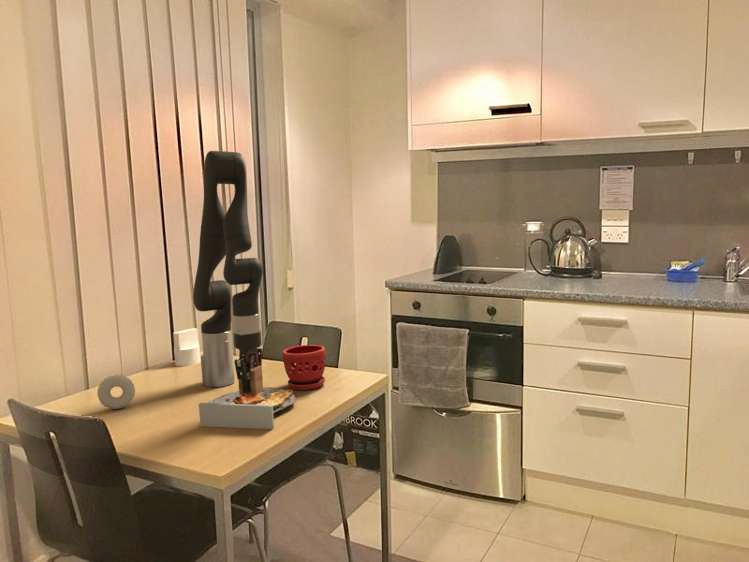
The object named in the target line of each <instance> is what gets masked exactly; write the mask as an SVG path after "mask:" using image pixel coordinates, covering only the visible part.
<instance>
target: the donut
mask: <svg viewBox="0 0 749 562" xmlns="http://www.w3.org/2000/svg"><path fill="white" fill-rule="evenodd" d="M116 387H117V388H120V389H121V390H122V393H121V395H119V396H113V395H112V394H111V390H112V389H113V388H116ZM135 395H136V388H135V384H134V383H133V381H132V380H131V379H130V378H128V377H127V376H125V375H122V374H113V375H110V376H108V377H106V378H105V379H103V380H102V381H101V382H100V384H99V386H98V387H97V397H98V400H99V402H100V403H101V405H102V406H104V407H105V408H108V409H110V410H119V409H122V408H123V409H124V408H125V407H126V406H128V405H130V403H132V401H133V399H134V397H135Z"/></svg>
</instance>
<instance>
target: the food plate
mask: <svg viewBox="0 0 749 562" xmlns="http://www.w3.org/2000/svg"><path fill="white" fill-rule="evenodd" d="M293 392H294V390H292V389H283V388H279V387H263V390H262V391H261V392H260V393H259V394H257V395H239V390H236V391H230V392H228V393H226V394H223V395H221V396H218V397H216V398H215V399H213V400H209V402H208V403H224V404H230V403H232V402H234V403H235V404H251V405H256V404H257V403H260V404H258V405H273V414H275V413H277V412H280V411H282V410H284V409H285V408H287V407H289V406H291V405H293V404H294V403H296V402H297V398H296V395H295V393H293ZM227 402H228V403H227Z"/></svg>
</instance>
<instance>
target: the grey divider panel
mask: <svg viewBox="0 0 749 562" xmlns="http://www.w3.org/2000/svg"><path fill="white" fill-rule="evenodd" d="M198 412H199V413H198V414H199V426H200V427H213V428H231V429H232V428H235V429H256V430H257V429H258V430H274V429H275V420H274V419H275V418H274V413H273V405H251V404H224V403H209V402H199V403H198Z"/></svg>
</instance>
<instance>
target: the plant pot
mask: <svg viewBox="0 0 749 562" xmlns="http://www.w3.org/2000/svg"><path fill="white" fill-rule="evenodd" d="M282 360H283V367H284V371H285V373H286V375H287V377H288V381H287V384H288V386H289V387H290V388H292V389H294V390H300V391H301V390H302V391H304V390H305V391H306V390H313V389H317V388H320V387H321V386H322V385H324V384H325V381H326V378H325V376H324V372H325V369H326V348H325V347H324V346H323V345H318V344H301V345H295V346H291V347H288V348H285V349H283V351H282Z"/></svg>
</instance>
